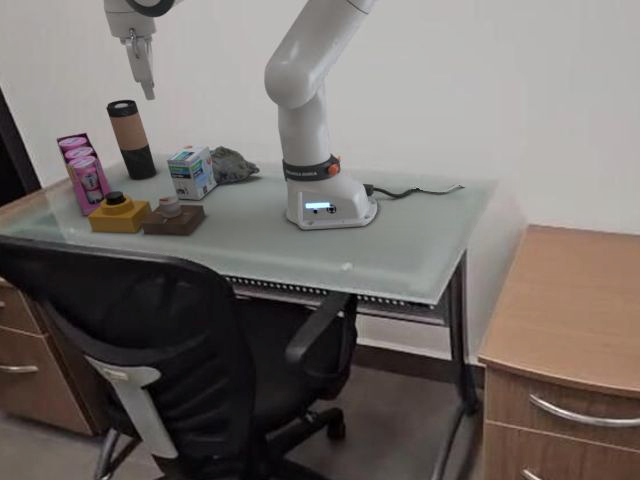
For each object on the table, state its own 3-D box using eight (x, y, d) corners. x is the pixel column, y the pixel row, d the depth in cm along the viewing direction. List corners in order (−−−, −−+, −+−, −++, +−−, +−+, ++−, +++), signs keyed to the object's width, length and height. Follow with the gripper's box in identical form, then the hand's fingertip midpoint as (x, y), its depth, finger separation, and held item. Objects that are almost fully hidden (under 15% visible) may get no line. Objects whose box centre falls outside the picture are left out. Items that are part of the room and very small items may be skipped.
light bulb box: (200, 200, 158) (189, 161, 152) (176, 199, 160) (165, 159, 153) (218, 183, 167) (209, 145, 161) (195, 182, 168) (185, 144, 162)
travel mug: (162, 172, 175) (141, 101, 163) (140, 182, 170) (117, 110, 158) (145, 167, 178) (123, 98, 166) (123, 176, 173) (99, 105, 161)
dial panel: (205, 216, 151) (202, 204, 150) (188, 235, 143) (184, 223, 142) (163, 215, 153) (160, 203, 151) (144, 234, 145) (140, 222, 143)
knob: (185, 209, 148) (180, 195, 146) (177, 218, 144) (172, 203, 142) (167, 209, 148) (163, 194, 146) (159, 217, 145) (154, 203, 143)
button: (128, 199, 148) (125, 191, 147) (120, 206, 145) (117, 198, 143) (113, 198, 148) (110, 190, 147) (104, 205, 145) (101, 198, 144)
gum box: (118, 210, 156) (100, 159, 148) (85, 218, 152) (65, 167, 144) (103, 179, 172) (86, 131, 164) (73, 185, 169) (54, 138, 161)
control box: (153, 215, 153) (146, 193, 149) (135, 232, 145) (127, 210, 142) (112, 214, 154) (104, 192, 150) (93, 231, 147) (84, 208, 143)
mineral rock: (263, 177, 170) (256, 142, 164) (240, 192, 162) (232, 156, 156) (225, 171, 174) (217, 136, 168) (201, 186, 166) (191, 150, 160)
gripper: (148, 32, 118) (167, 104, 127) (148, 14, 134) (165, 79, 142) (113, 36, 117) (134, 108, 125) (117, 17, 132) (136, 82, 141)
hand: (150, 93), depth 134 cm, fingers open, 8 cm apart
